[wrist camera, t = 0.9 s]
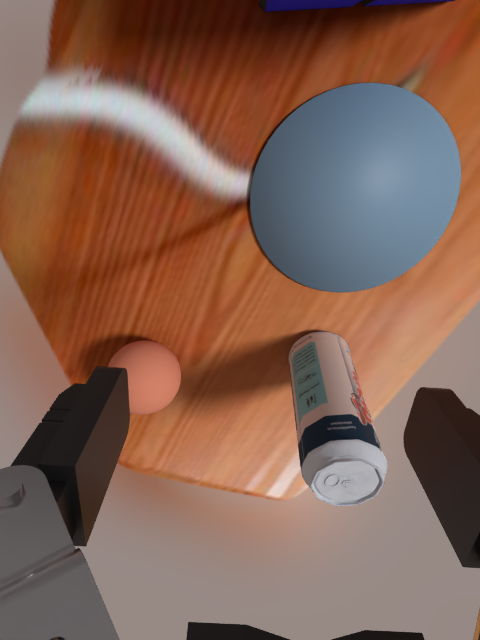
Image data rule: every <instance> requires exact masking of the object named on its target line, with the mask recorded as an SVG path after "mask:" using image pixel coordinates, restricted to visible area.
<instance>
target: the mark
mask: <svg viewBox="0 0 480 640" xmlns="http://www.w3.org/2000/svg"><path fill="white" fill-rule="evenodd" d="M460 182H461V164H460V157H459V151H458V148H457V145H456V141H455V138H454V136H453V134H452V132H451V130H450V128H449V126H448V124H447V123H446V122H445V120H444V119H443V117H442V116H441V114H440V113H439V112H438V111H437V110H436V109H435V108H434V107H433V106H432V105H431V104H429V103H428V102H427V101H425V100H424V99H422V98H421V97H420V96H418V95H416V94H414V93H412V92H410V91H408V90H406V89H403V88H399V87H396V86H393V85H388V84H380V83H357V84H351V85H345V86H341V87H338V88H335V89H332V90H329V91H326V92H324V93H322V94H320V95H318V96H316V97H314V98H312V99H311V100H309V101H307V102H306V103H304V104H303V105H301V106H300V107H299V108H297V109H296V110H295V111H294V112H293V113H291V114H290V115H289V116H288V117H287V118H286V119H285V120H284V121H283V122H282V123H281V125H280V126H279V127H278V128H277V129H276V130H275V132H274V133H273V135H272V136H271V137H270V139H269V140H268V142H267V144H266V146H265V147H264V149H263V151H262V153H261V155H260V157H259V160H258V162H257V165H256V168H255V171H254V175H253V179H252V185H251V193H250V211H251V218H252V224H253V227H254V231H255V234H256V237H257V239H258V241H259V244H260V246H261V247H262V249H263V251H264V252H265V254H266V255H267V257H268V258H269V259H270V260H271V262H272V263H273V264H274V265H275V266H276V267H277V268H278V269H279V270H280V271H281V272H283V273H284V274H285V275H287V276H288V277H290V278H291V279H293V280H295V281H296V282H298V283H300V284H302V285H305V286H308V287H310V288H313V289H318V290H322V291H329V292H354V291H361V290H365V289H370V288H373V287H376V286H379V285H382V284H384V283H386V282H389V281H391V280H393V279H395V278H397V277H398V276H400V275H402V274H403V273H405V272H407V271H408V270H409V269H410V268H412V267H413V266H414V265H416V264H417V263H418V262H419V261H420V260H421V259H422V258H423V257H425V256H426V255H427V254H428V252H429V251H430V250H431V249H432V248H433V247H434V246H435V244H436V243H437V242H438V240H439V239H440V237H441V236H442V234H443V233H444V231H445V229H446V227H447V225H448V224H449V222H450V220H451V217H452V215H453V212H454V210H455V207H456V203H457V199H458V196H459V190H460Z"/></svg>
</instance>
